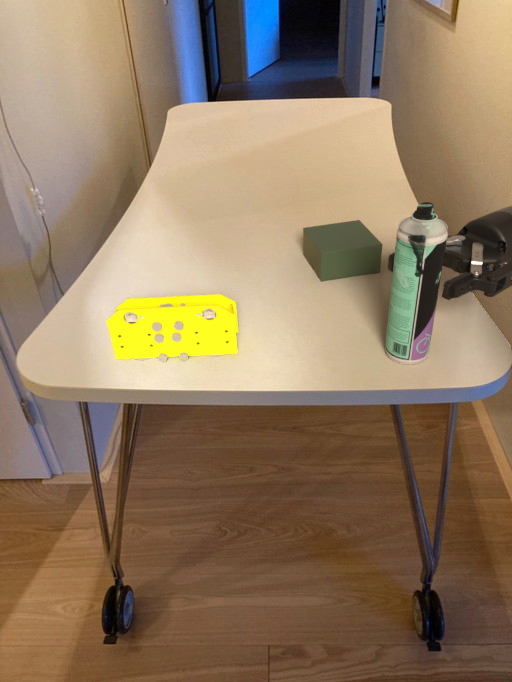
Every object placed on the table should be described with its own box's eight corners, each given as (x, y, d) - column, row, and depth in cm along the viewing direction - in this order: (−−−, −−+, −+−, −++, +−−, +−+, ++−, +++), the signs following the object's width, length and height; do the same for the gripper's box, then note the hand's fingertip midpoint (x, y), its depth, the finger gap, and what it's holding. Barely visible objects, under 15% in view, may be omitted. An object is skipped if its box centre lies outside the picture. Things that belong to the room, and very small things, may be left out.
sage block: (380, 272, 89) (382, 244, 86) (321, 281, 87) (321, 253, 84) (357, 246, 97) (359, 219, 94) (303, 254, 95) (303, 227, 92)
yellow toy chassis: (116, 366, 72) (102, 312, 67) (124, 341, 77) (112, 289, 72) (238, 361, 71) (233, 306, 67) (239, 335, 76) (234, 283, 71)
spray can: (432, 364, 69) (458, 213, 57) (388, 365, 69) (405, 215, 57) (422, 339, 73) (444, 194, 62) (381, 340, 73) (395, 196, 62)
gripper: (463, 196, 75) (375, 229, 67) (562, 229, 65) (472, 271, 58) (454, 246, 79) (371, 282, 72) (546, 284, 69) (460, 330, 62)
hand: (416, 277), depth 65 cm, fingers open, 8 cm apart
